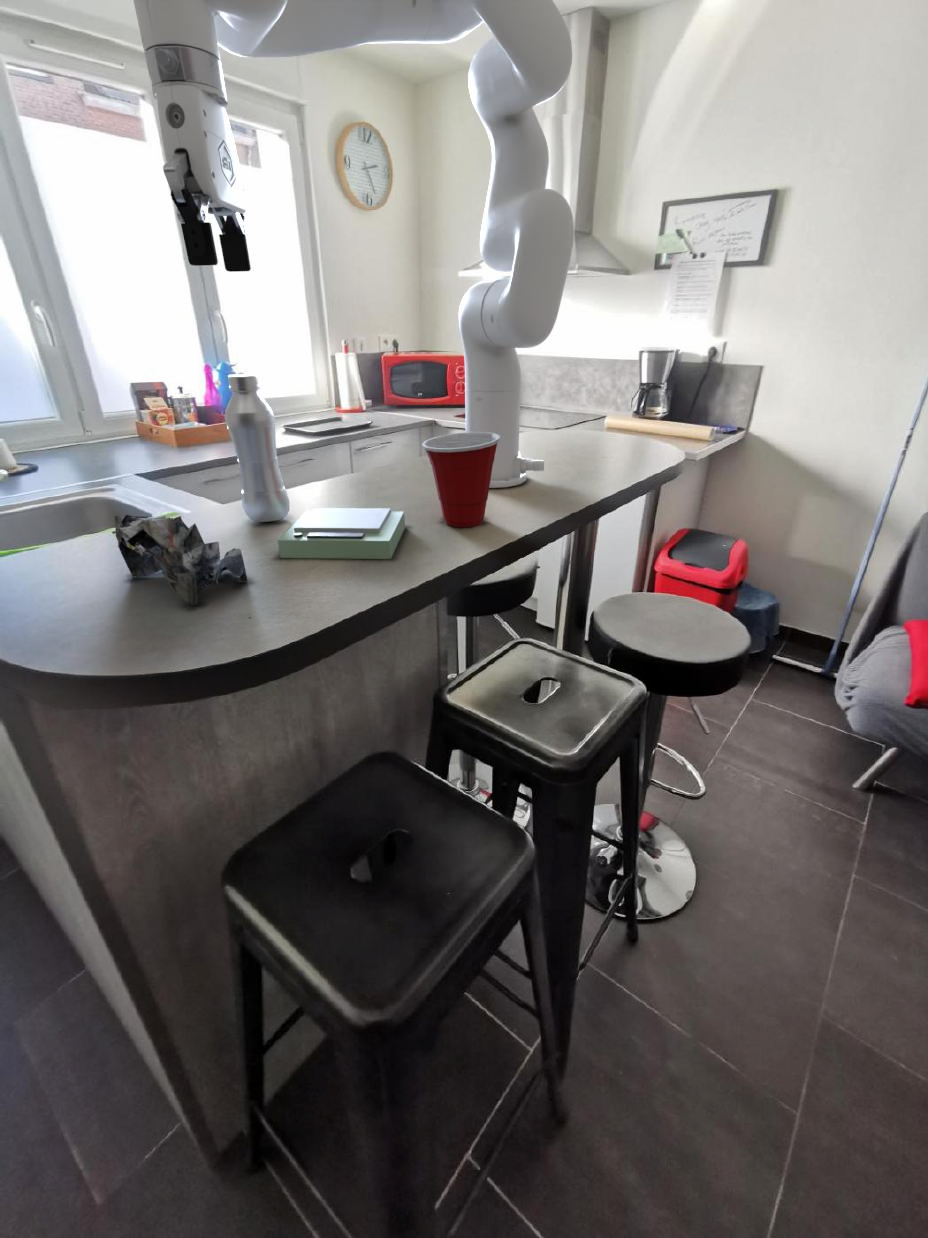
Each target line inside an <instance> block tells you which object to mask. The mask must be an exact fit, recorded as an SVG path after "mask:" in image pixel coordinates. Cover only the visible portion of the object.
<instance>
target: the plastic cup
mask: <svg viewBox="0 0 928 1238" xmlns="http://www.w3.org/2000/svg"><path fill="white" fill-rule="evenodd" d="M499 439H500V435H498V434H495V433H489V432H466V431H465V432H456V433H455V432H454V433H450V434H443V435H439V436H435V437H431V438H429V439H426V440H424V441H423V442H422V444H421V446H422V448H423V449H424V450H425V452H426V454H427V457H428V459H429V463H430V465H431V469H432V474H433V478H434V483H435V487H436V488H435V489H436V492H437V497H438V500H439V503H440V508H441V515H442V519H443V521H444V523H445V524H446V525H448V526H451V527H454V528H455V527H456V528H469V527H470V528H471V527H476V526H479V525H481V524H482V523H483V522H484V518H485V514H486V507H487V501H488V499H489V493H490V488H489V487H490V480H491V474H492V467H493V462H494V457H495V452H496V447H497V443H498V442H499Z"/></svg>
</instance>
